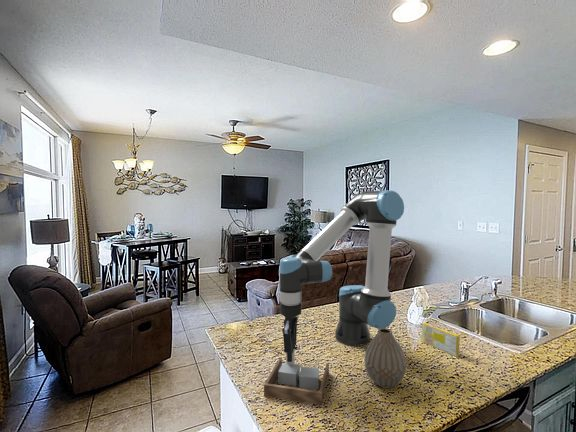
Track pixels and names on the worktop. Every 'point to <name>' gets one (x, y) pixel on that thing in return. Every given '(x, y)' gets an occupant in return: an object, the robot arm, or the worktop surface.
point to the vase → (385, 359)
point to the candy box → (440, 339)
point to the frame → (292, 392)
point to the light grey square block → (309, 378)
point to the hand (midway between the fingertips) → (290, 369)
